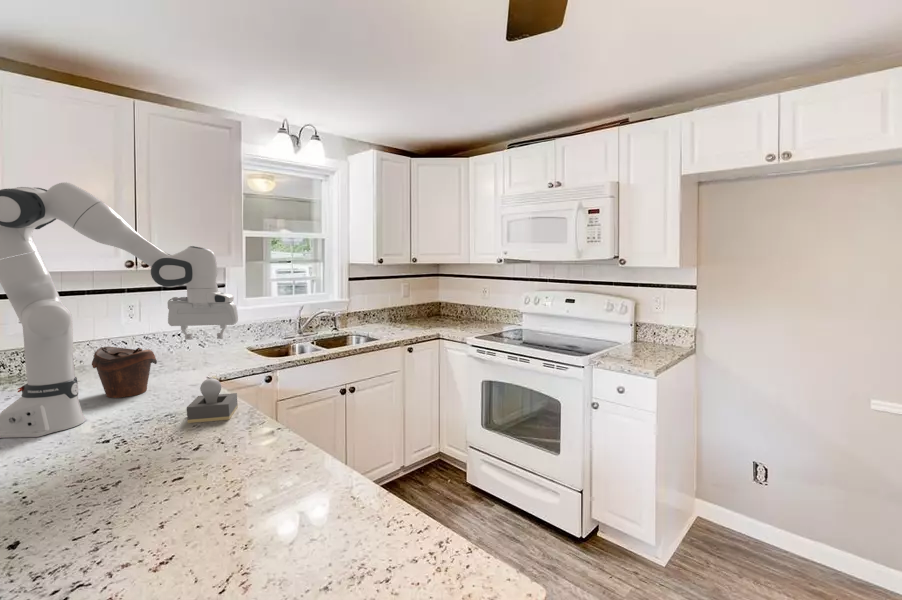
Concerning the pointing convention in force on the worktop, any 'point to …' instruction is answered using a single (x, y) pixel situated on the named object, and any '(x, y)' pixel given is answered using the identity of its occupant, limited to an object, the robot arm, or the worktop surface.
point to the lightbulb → (210, 390)
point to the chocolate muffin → (123, 370)
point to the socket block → (212, 408)
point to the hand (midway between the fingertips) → (204, 339)
